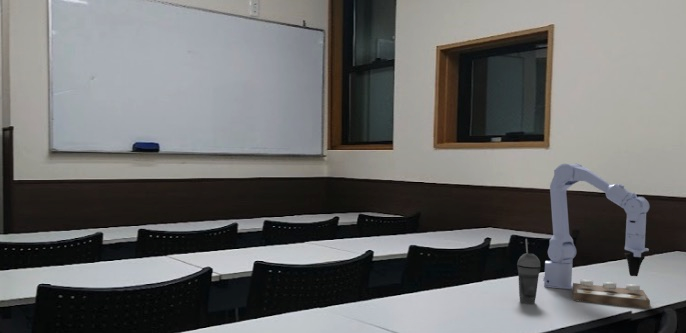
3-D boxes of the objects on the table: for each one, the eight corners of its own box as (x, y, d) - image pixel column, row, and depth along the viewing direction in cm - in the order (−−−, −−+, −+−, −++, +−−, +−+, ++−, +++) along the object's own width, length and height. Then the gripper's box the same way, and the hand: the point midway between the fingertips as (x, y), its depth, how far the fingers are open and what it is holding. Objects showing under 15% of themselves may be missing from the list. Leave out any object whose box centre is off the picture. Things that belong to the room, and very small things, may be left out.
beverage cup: (536, 306, 184) (538, 241, 183) (512, 302, 188) (515, 239, 187) (541, 301, 190) (544, 239, 189) (518, 298, 194) (521, 236, 193)
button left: (580, 286, 198) (580, 281, 198) (579, 283, 202) (580, 278, 202) (593, 287, 197) (593, 282, 197) (592, 284, 201) (592, 280, 201)
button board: (573, 300, 193) (574, 291, 193) (572, 290, 209) (573, 282, 208) (649, 308, 186) (649, 299, 186) (642, 297, 201) (643, 289, 201)
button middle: (603, 288, 196) (603, 283, 196) (602, 285, 200) (602, 281, 200) (616, 289, 195) (616, 284, 195) (615, 287, 198) (615, 282, 198)
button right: (626, 290, 194) (627, 285, 194) (625, 288, 197) (625, 283, 197) (640, 292, 192) (640, 287, 192) (638, 289, 196) (639, 284, 196)
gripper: (652, 238, 186) (650, 281, 187) (646, 232, 200) (644, 273, 200) (627, 236, 189) (625, 278, 189) (622, 231, 202) (621, 270, 203)
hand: (633, 275), depth 195 cm, fingers closed
